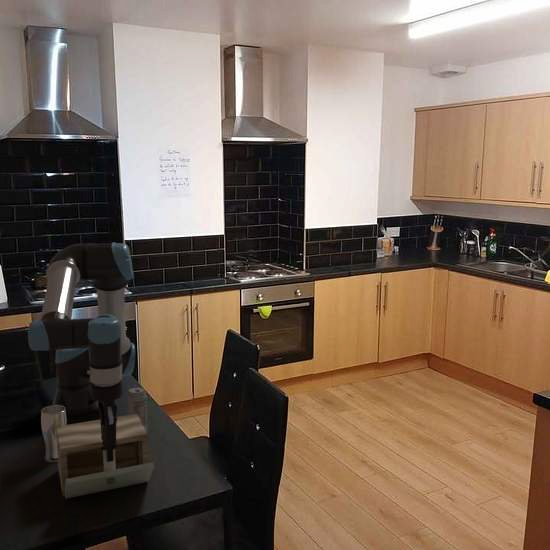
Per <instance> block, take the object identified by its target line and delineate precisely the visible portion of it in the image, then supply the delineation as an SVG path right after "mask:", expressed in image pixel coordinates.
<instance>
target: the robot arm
mask: <svg viewBox="0 0 550 550" xmlns="http://www.w3.org/2000/svg"><path fill="white" fill-rule="evenodd" d="M132 261H133V260H132V256H131V250H130V247H129V246H128V245H127V244H126V243H119V242H111V243H109V242H108V243H74V244H71V245H68V246H66V247H65V248H62V249H61V250H60V251H58V252H57V253H56V254H55V255H54V256H53V257H52V258H51V259H50V261H49V263H48V265H47V267H46V270H45V271H46V272H45V277H46V280H47V286H46V289H45V297H44V300H43V305H42V310H41V315H40V319H37V320H34V321H33V320H32V321H31V322H29V325H28V328H27V329H28V331H27V336H28V337H27V340H28V345H29V348H30V349H31V350H32V351H46V352H47V351H55V360H54V363H55V371H56V372H55V373H56V391H55V395H54V398H53V402H52V405H62V406H64V407H65V410H66V417H68V416H69V417H70V416H80V415H84V414H87V413H90V412H92V411H95V409H97V408H98V413H99V414H98V415H99V420H100V423H101V439H102V440H103V442H102V444H103V446H104V447H101V450H103V463H104V472H105V471H110V470H115V469H116V465H115V449H116V423H117V417H118V416H117V411H118V408H117V404H116V402H115V401H116V400H118V399H120V398H122V396H123V391H124V389H123V381H122V379H123V377H127V376H131V375H132V374H133V371H134V369H135V355H136V347H135V344H134V343H133V342H131V340H130V339H129V337H127V334H126V333H127V331H126V330H127V329H126V328H127V327H126V301H125V288H126V287H127V286H128V285H129V283H130V280H133V279H134V269H133V263H132ZM83 281H85V282H87V281H88V282H91V286H92V287H93V288H94V289H95V290H96V296H97V309H98V310H97V311H98V312H97V313H98V316H97V317H91V318H87V317H86V318H73V317H72V316H73V310H74V309H73V308H74V300H75V290H76V285H77V284H78V283H79V282H83Z"/></svg>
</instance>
